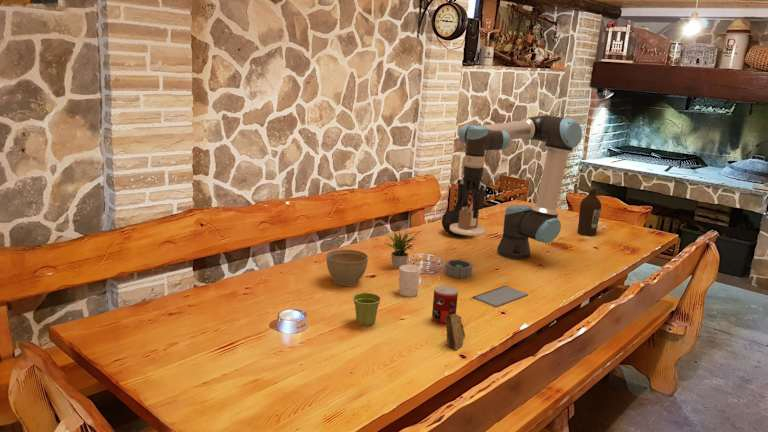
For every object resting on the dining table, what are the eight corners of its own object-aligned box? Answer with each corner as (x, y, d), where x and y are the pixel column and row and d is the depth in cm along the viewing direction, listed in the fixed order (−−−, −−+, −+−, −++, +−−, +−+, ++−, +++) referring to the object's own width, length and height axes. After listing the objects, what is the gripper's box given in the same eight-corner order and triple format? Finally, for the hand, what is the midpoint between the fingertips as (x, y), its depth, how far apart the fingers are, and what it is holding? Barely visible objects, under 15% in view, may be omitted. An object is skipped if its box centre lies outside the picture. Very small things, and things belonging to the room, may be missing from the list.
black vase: (441, 228, 323) (446, 175, 316) (476, 231, 321) (481, 178, 313) (439, 238, 306) (444, 182, 298) (476, 241, 303) (482, 185, 296)
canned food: (430, 314, 215) (432, 285, 212) (452, 315, 216) (455, 285, 213) (433, 324, 207) (436, 293, 205) (457, 324, 208) (460, 294, 205)
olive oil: (572, 232, 329) (578, 186, 323) (582, 229, 337) (589, 184, 330) (590, 237, 322) (597, 190, 316) (600, 234, 329) (607, 188, 323)
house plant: (413, 276, 250) (416, 238, 246) (379, 272, 253) (382, 234, 249) (418, 265, 264) (421, 228, 260) (386, 261, 266) (389, 225, 262)
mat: (486, 279, 252) (486, 278, 252) (527, 295, 238) (528, 293, 238) (454, 290, 239) (454, 288, 239) (496, 307, 225) (496, 305, 225)
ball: (457, 271, 257) (458, 262, 256) (464, 273, 255) (465, 265, 254) (452, 272, 255) (452, 264, 254) (458, 275, 252) (459, 266, 251)
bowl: (456, 269, 263) (457, 257, 261) (477, 276, 255) (478, 265, 254) (439, 274, 255) (440, 262, 254) (459, 282, 248) (460, 270, 246)
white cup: (416, 298, 228) (418, 272, 226) (395, 295, 230) (397, 270, 227) (420, 290, 236) (422, 266, 233) (399, 288, 237) (401, 263, 235)
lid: (465, 224, 257) (467, 204, 255) (492, 232, 247) (494, 212, 245) (442, 228, 248) (444, 208, 245) (469, 237, 238) (471, 216, 235)
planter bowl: (372, 279, 245) (374, 252, 242) (357, 292, 230) (359, 265, 228) (335, 272, 250) (336, 246, 247) (318, 285, 235) (319, 258, 233)
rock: (455, 324, 203) (433, 326, 197) (471, 310, 198) (448, 312, 192) (470, 353, 198) (447, 357, 192) (486, 339, 193) (463, 343, 186)
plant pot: (346, 324, 203) (347, 300, 201) (358, 314, 212) (359, 290, 210) (373, 330, 200) (374, 305, 198) (383, 319, 209) (385, 295, 206)
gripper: (450, 163, 244) (445, 220, 250) (484, 170, 232) (478, 230, 238) (463, 161, 249) (458, 218, 255) (497, 169, 237) (490, 228, 243)
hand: (468, 224), depth 246 cm, fingers closed on lid, 4 cm apart
